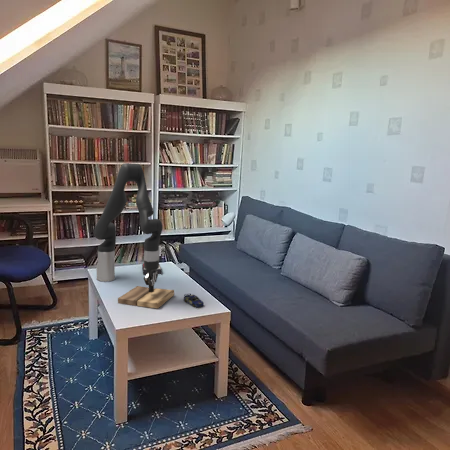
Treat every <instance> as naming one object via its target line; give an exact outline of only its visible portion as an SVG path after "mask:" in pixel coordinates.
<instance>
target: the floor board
mask: <svg viewBox="0 0 450 450" xmlns="http://www.w3.org/2000/svg"><path fill="white" fill-rule="evenodd" d="M148 293H149V286H148V287H147V286H140V285H137V286H135V287H134V288H132V289H130V290H129V291H127V292H126V293H124V294H122V295H121V296H120V297H117V304H120V305H127V306H135V307H138V306H137V301H138V300H139V299H141V298H142V297H144V296H145V295H146V294H148Z"/></svg>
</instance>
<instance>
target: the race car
mask: <svg viewBox="0 0 450 450" xmlns="http://www.w3.org/2000/svg"><path fill="white" fill-rule="evenodd" d="M183 301H184V303H186V304H189V305H190V306H192V307H193V308H195V309H197V310H203V307H204V306H205V304H204V302H203V300H201V298H199V297H198V296H197V295H195V294H192V293H185V294H184V296H183Z"/></svg>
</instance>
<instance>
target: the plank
mask: <svg viewBox="0 0 450 450" xmlns="http://www.w3.org/2000/svg"><path fill="white" fill-rule="evenodd" d="M174 296H175V289H167V288H165V289H164V288H157V287H156V288H155V287H154V292H152V293H151V292H149V293H148V294H146V295H145V296H144V297H142V298H141V299H139V300H138V301H137V306H136V307H144V308H151V309H159V308H161V307H162V306H163V305H164V304H165V303H166V302H167V301H169V300H170V299H171V298H173V297H174Z"/></svg>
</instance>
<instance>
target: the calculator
mask: <svg viewBox="0 0 450 450" xmlns="http://www.w3.org/2000/svg"><path fill="white" fill-rule="evenodd" d="M141 268H142V274H143V276H146V271H147V270H146V269H145V268H144V263H142V264H141ZM157 271H159V274H161V275H162V271H163V269H162V267H161V264H160V263H159V268H158V269H157Z"/></svg>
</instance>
